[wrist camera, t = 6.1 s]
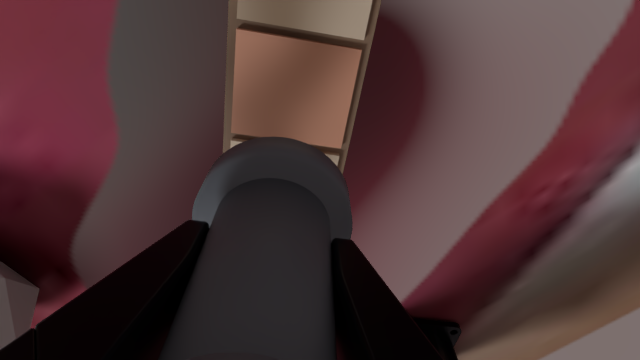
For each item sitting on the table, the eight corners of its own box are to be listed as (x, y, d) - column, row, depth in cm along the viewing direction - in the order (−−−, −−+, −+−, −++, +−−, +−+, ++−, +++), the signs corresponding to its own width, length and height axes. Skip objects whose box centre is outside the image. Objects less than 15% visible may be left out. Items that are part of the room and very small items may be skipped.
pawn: (363, 148, 9) (500, 718, 2) (334, 265, 11) (364, 769, 4) (204, 125, 8) (-184, 713, 2) (202, 249, 10) (0, 770, 4)
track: (443, -295, 12) (453, -315, 11) (329, 223, 22) (330, 234, 21) (246, -345, 11) (240, -370, 10) (222, 209, 21) (219, 220, 20)
